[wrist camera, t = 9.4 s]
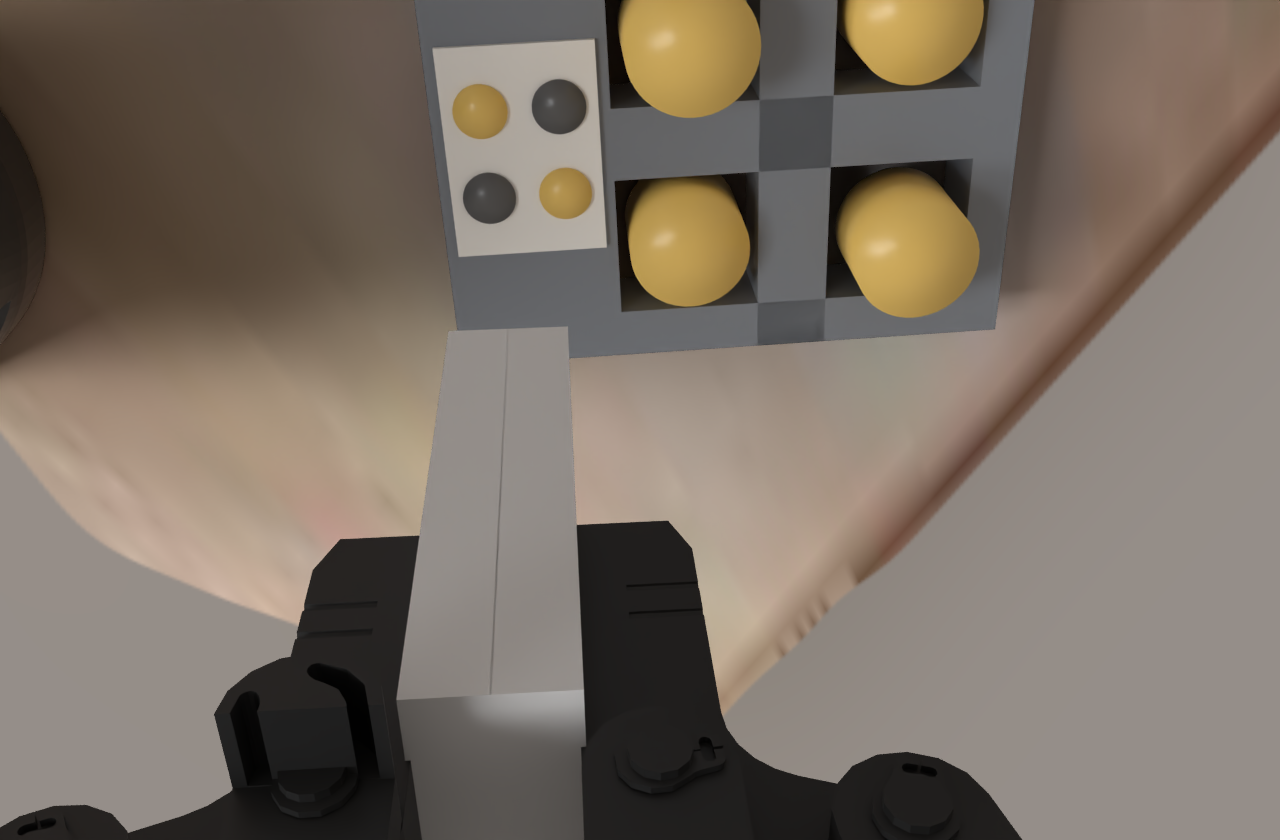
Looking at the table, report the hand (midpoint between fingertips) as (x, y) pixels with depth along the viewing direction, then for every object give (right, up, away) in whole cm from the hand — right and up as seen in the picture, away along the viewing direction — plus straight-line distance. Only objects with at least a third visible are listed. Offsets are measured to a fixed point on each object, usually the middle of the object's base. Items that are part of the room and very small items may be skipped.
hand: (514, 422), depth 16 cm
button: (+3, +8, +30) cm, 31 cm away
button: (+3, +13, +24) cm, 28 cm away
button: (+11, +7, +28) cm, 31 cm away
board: (+4, +11, +28) cm, 31 cm away
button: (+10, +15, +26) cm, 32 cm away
